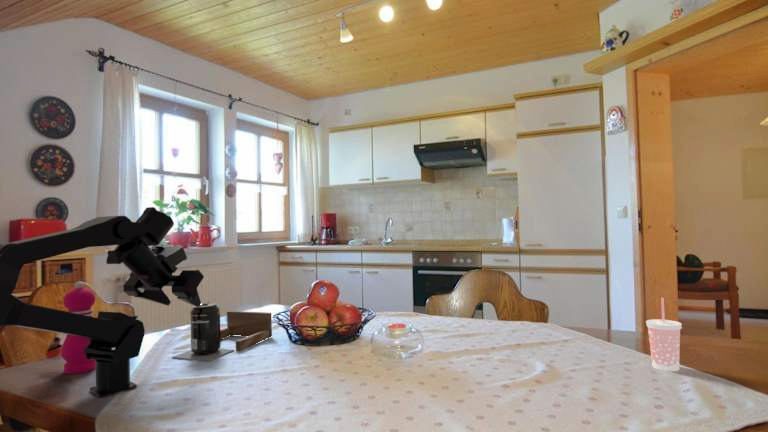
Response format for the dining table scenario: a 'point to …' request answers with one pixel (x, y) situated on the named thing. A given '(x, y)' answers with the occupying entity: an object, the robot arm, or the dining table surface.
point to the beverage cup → (664, 342)
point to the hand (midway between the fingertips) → (184, 304)
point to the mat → (192, 356)
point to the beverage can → (205, 328)
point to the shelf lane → (247, 327)
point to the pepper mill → (75, 345)
